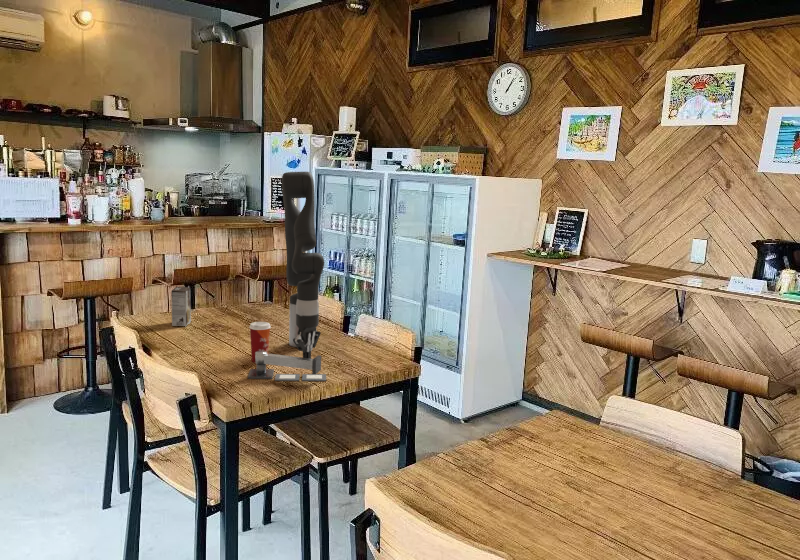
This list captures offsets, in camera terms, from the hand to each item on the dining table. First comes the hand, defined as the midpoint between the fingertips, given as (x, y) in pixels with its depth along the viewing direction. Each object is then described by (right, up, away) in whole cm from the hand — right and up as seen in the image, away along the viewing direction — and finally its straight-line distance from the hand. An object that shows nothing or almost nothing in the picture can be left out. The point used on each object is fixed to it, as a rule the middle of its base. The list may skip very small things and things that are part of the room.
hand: (306, 361), depth 206 cm
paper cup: (-20, -2, +17) cm, 26 cm away
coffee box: (-65, +8, +62) cm, 90 cm away
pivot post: (-16, -5, +1) cm, 17 cm away
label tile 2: (+2, -6, +1) cm, 6 cm away
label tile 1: (-6, -6, 0) cm, 9 cm away
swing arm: (-7, -2, -1) cm, 7 cm away
